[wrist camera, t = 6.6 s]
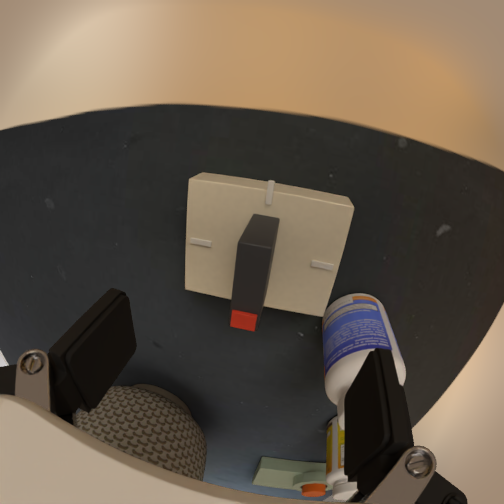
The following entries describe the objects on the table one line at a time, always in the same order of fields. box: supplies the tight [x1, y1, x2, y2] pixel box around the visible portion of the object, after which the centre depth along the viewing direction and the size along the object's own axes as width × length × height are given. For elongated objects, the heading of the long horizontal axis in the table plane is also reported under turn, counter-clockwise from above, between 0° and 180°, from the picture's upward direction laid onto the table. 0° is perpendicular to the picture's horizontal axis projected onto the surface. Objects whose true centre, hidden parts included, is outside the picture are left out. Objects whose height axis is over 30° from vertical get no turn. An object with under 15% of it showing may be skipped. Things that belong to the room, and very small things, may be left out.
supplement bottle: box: [326, 416, 358, 500], centre depth 23 cm, size 6×6×10 cm
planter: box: [76, 384, 207, 481], centre depth 25 cm, size 17×17×16 cm
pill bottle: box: [322, 293, 406, 430], centre depth 17 cm, size 5×5×10 cm
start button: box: [302, 483, 326, 497], centre depth 31 cm, size 4×4×2 cm
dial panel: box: [185, 172, 354, 317], centre depth 19 cm, size 10×9×3 cm
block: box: [252, 456, 333, 491], centre depth 34 cm, size 12×11×4 cm
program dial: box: [229, 214, 280, 331], centre depth 16 cm, size 5×2×5 cm, turn 173°
